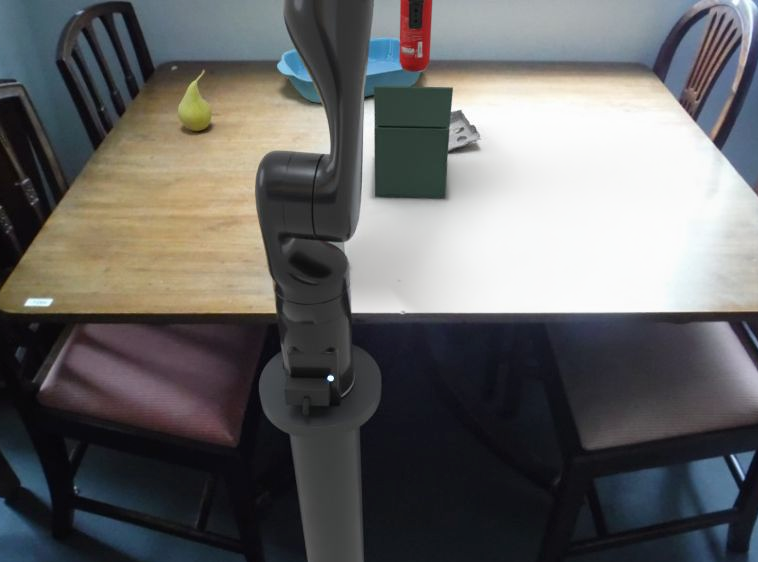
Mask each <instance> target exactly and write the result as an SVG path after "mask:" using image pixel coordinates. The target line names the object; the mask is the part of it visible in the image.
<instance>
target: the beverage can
mask: <svg viewBox="0 0 758 562" xmlns="http://www.w3.org/2000/svg"><path fill="white" fill-rule="evenodd" d="M399 6H400V7H399V9H400V10H399V39H400V52H399V61H400V63H401V66H402V69H404V70H406V71H410V72H420V71H421V72H424V71H426V70H427V69H428V66H429V64H430V61H431V60H430V59H431V58H430V57H431V39H432V38H431V37H432V17H433V0H425V2H424V4H423V19H422V28H421V29H410V28H409V2H408V0H400V5H399Z"/></svg>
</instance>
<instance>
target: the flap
mask: <svg viewBox="0 0 758 562" xmlns="http://www.w3.org/2000/svg"><path fill="white" fill-rule="evenodd" d="M453 93H454V87H453V86H452V87H451V86H410V87H408V86H374V95H373V105H374V107H373V108H374V109H373V110H374V113H373V114H374V116H373V117H374V127H375V126H422V127H450V117H451V112H452V104H453Z"/></svg>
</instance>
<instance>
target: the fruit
mask: <svg viewBox="0 0 758 562" xmlns="http://www.w3.org/2000/svg"><path fill="white" fill-rule="evenodd" d="M205 73H206V70H205V69H202V72H201V73H200V74H199V76H198V77H197V78H196V79H195V80H194V81H192V82H191V83H190V84H189V85H188V87H187V89H186V91H185V94H184V95H183V98H182V99H181V101H180V103H179V105H178V108H177V117H178V119H179V120H180V123H182V125H183V126H184V127H186V128H187V129H188V130H191V131H193V132H200V131H203V130H205V129H207V128H208V127H209V125H210V123H211V121H212V108H211V105H210V104H209V103H208V102H207V100H205V99H203V98H202V96H201V94H200V91H199V86H198V82H199V80H200V79H201V78H202V77H203V76H204V74H205Z"/></svg>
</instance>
